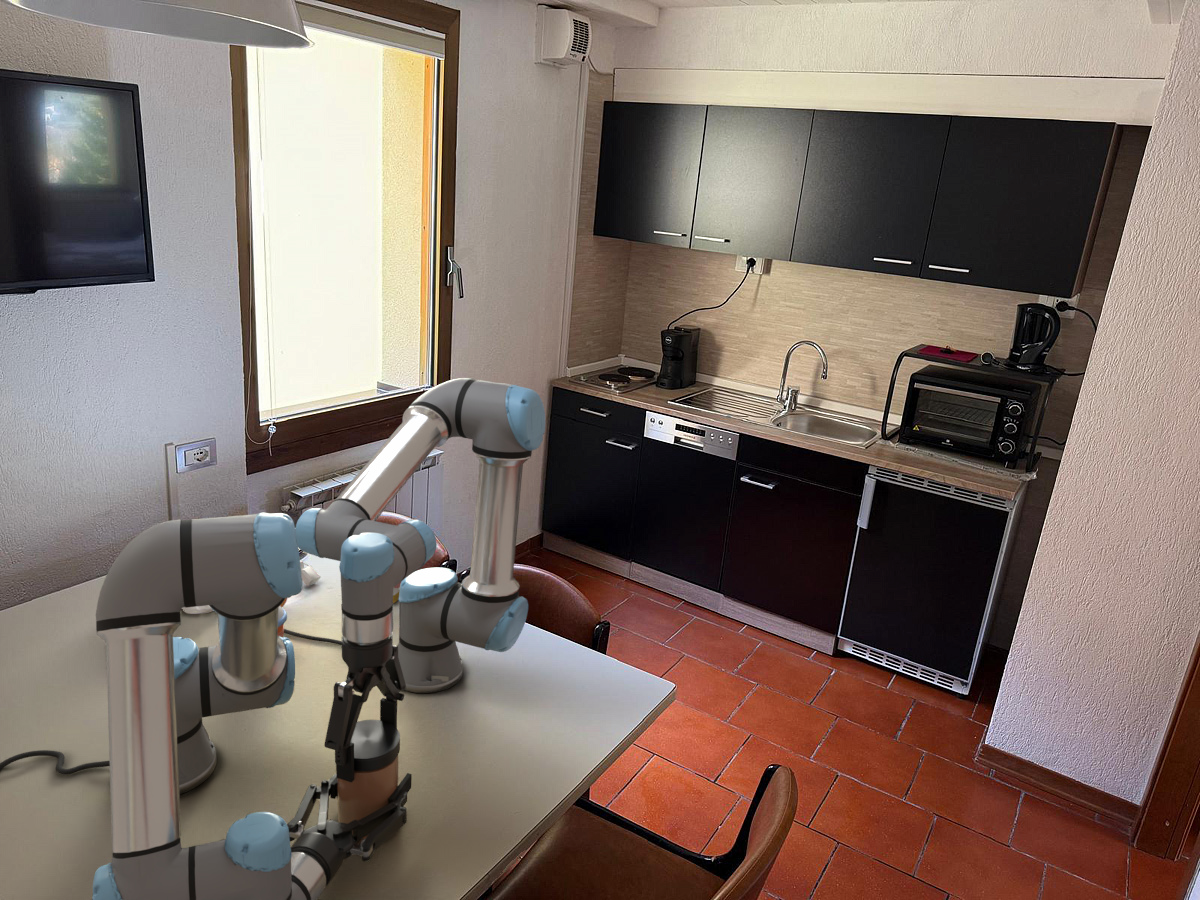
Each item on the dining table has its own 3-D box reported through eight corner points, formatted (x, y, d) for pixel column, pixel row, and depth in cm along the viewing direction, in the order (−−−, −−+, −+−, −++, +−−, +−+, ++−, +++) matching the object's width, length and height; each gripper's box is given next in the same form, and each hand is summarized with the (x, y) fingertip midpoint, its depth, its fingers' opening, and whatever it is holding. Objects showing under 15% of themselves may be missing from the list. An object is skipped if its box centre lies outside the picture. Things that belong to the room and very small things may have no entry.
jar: (350, 799, 145) (349, 721, 140) (405, 806, 144) (406, 728, 139) (328, 839, 136) (326, 757, 131) (386, 847, 135) (387, 765, 130)
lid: (397, 770, 132) (397, 757, 131) (330, 772, 130) (330, 759, 130) (402, 730, 141) (402, 718, 141) (339, 732, 140) (339, 720, 139)
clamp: (253, 565, 223) (254, 542, 221) (265, 560, 226) (266, 537, 224) (309, 593, 215) (310, 569, 213) (320, 588, 218) (321, 564, 216)
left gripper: (237, 873, 125) (321, 777, 146) (376, 912, 120) (442, 807, 141) (235, 831, 122) (320, 739, 143) (376, 869, 118) (443, 769, 139)
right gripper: (388, 596, 141) (388, 710, 148) (295, 665, 120) (299, 795, 126) (428, 606, 139) (426, 721, 146) (341, 678, 118) (343, 810, 124)
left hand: (381, 773), depth 142 cm, fingers closed on jar, 9 cm apart
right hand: (367, 756), depth 136 cm, fingers open, 11 cm apart
